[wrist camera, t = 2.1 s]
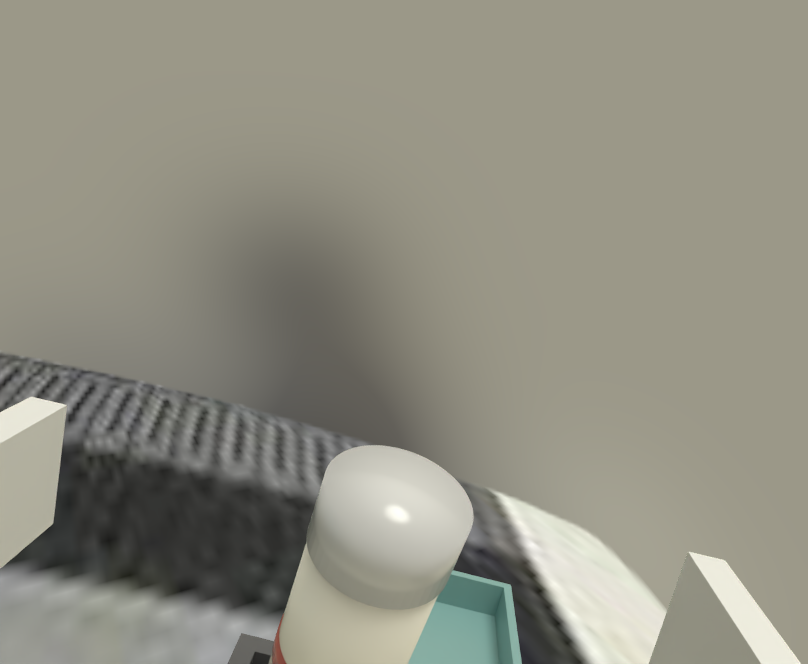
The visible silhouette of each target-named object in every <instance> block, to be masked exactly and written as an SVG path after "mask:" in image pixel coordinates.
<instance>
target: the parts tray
mask: <svg viewBox="0 0 808 664" xmlns="http://www.w3.org/2000/svg"><path fill="white" fill-rule="evenodd" d="M408 664H522V662H521V655H520V648H519V641H518V633H517V626H516V619H515V612H514V605H513V598H512V590H511V585H509V584H505V583H501V582H497V581H493V580H489V579H485V578H481V577H477V576H473V575H469V574H465V573H461V572H457V571H452V573H451V575H450V577H449V580H448V582H447V584H446V586H445V587H444V589H443V591H442V592H441V593H440V594H439V595H438V597H437V599H436V601H435V604H434V606H433V608H432V610H431V613H430V615H429V617H428V619H427V622H426V624H425V626H424V628H423V631H422V633H421V635H420V638H419V640H418V642H417V644H416V647H415V649H414V651H413V653H412V656H411V658H410V660H409V662H408Z"/></svg>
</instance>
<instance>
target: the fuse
mask: <svg viewBox="0 0 808 664" xmlns="http://www.w3.org/2000/svg"><path fill="white" fill-rule="evenodd" d="M472 524H473V509H472V505H471V502H470V500H469V498H468V496H467V494H466V492H465V491H464V489H463V488H462V487H461V485H460V484H459V483H458V482H457V481H456V480H455V479H454V478H453V477H452V476H451V475H450V474H449V473H448V472H446V471H445V470H444V469H443V468H441V467H440V466H438V465H437V464H435V463H434V462H432V461H430V460H428V459H426V458H424V457H422V456H420V455H418V454H415V453H412V452H409V451H406V450H403V449H399V448H394V447H389V446H378V445H370V446H361V447H355V448H352V449H349V450H347V451H344V452H342V453H341V454H339V455H337V456H336V457H335V458H334V459H333V460H332V461H331V463H330V464H329V465H328V467H327V469H326V472H325V475H324V478H323V482H322V485H321V488H320V491H319V494H318V498H317V501H316V504H315V507H314V510H313V514H312V517H311V520H310V523H309V526H308V531H307V540H306V541H307V543H306V546H305V549H304V552H303V555H302V559H301V562H300V565H299V568H298V571H297V574H296V578H295V581H294V584H293V587H292V590H291V594H290V597H289V600H288V603H287V606H286V609H285V613H284V614H283V616H282V619H281V621H280V624H279V627H278V630H277V633H276V637H275V640H274V644H273V648H272V654H271V657H270V660H269V663H268V664H408V662H409V660H410V658H411V656H412V653H413V651H414V649H415V647H416V644H417V642H418V640H419V638H420V635H421V633H422V631H423V628H424V626H425V624H426V622H427V619H428V617H429V615H430V613H431V610H432V608H433V606H434V604H435V601H436V599H437V597H438V595H439V594H440V593H441V592H442V591H443V589H444V587H445V586H446V584H447V582H448V580H449V577H450V575H451V573H452V571H453V568H454V566H455V564H456V561H457V559H458V557H459V555H460V552H461V550H462V548H463V546H464V543H465V541H466V539H467V537H468V534H469V532H470V530H471V527H472Z"/></svg>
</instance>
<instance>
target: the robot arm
mask: <svg viewBox="0 0 808 664" xmlns="http://www.w3.org/2000/svg"><path fill="white" fill-rule="evenodd" d="M66 409H67V405H64V404H60V403H56V402H51V401H47V400H43V399H39V398H34V397H30V398H28V399H26V400H24V401H22V402H20V403H18V404H16V405H14V406H12V407H10V408H8V409H6V410H4V411H2V412H0V568H1V567H3V566H4V565H5V564H6V563H7V562H8V561H10V560H11V559H12V558H13V557H14V556H16V555H17V554H18V553H19V552H20V551H21V550H23V549H24V548H25V547H26V546H27V545H28V544H30V543H31V542H32V541H33V540H34V539H35V538H37V537H38V536H39V535H40V534H41V533H43V532H44V531H45V530H46V529H47V528H48V527H50V526H51V525H52V524H53V519H54V511H55V502H56V494H57V485H58V477H59V468H60V460H61V451H62V443H63V434H64V426H65V417H66ZM649 664H801V663H800V662H799V660H798V659H797V658H796V656H795V655H794V654H793V652H792V651H791V649H790V648H789V647H788V645H787V644H786V643H785V641H784V640H783V639H782V637H781V636H780V635H779V633H778V632H777V631H776V629H775V628H774V626H773V625H772V624H771V622H770V621H769V620H768V618H767V617H766V615H765V614H764V613H763V611H762V610H761V609H760V607H759V606H758V605H757V603H756V602H755V601H754V599H753V598H752V596H751V595H750V594H749V592H748V591H747V590H746V588H745V587H744V586H743V584H742V583H741V582H740V580H739V579H738V577H737V576H736V575H735V573H734V572H733V571H732V569H731V568H730V567H729V565H728V564H727V562H726V561H725V560H721V559H717V558H713V557H709V556H704V555H700V554H696V553H692V552H688V553H687V556H686V559H685V562H684V565H683V568H682V570H681V574H680V576H679V579H678V582H677V585H676V588H675V590H674V593H673V596H672V599H671V602H670V605H669V608H668V611H667V613H666V616H665V619H664V622H663V625H662V628H661V631H660V633H659V636H658V639H657V642H656V645H655V648H654V651H653V653H652V656H651V659H650V662H649Z"/></svg>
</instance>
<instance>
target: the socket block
mask: <svg viewBox="0 0 808 664" xmlns="http://www.w3.org/2000/svg"><path fill="white" fill-rule="evenodd" d="M273 644H274V641H270V640H266V639H262V638H258V637H254V636H250V635H246V634H242V633H241V636H240V638H239V640H238V642H237V644H236V647H235V649H234V651H233V653H232V655H231V657H230V660H229V662H228V664H268V663H269V660H270V657H271V654H272V648H273Z"/></svg>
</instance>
